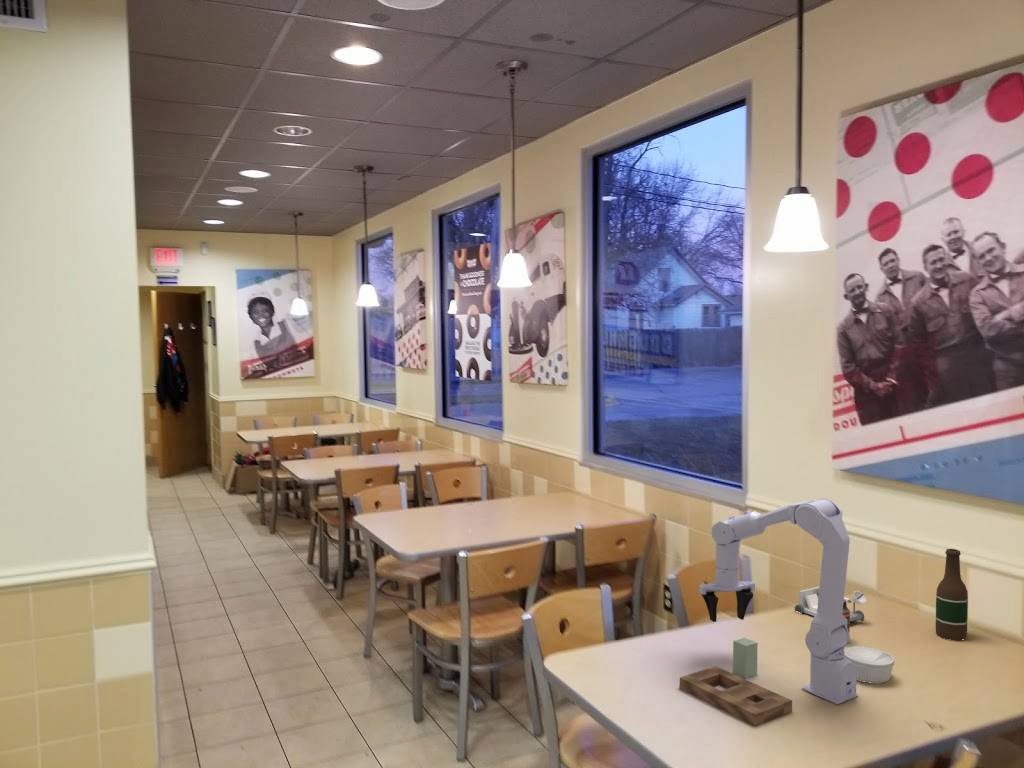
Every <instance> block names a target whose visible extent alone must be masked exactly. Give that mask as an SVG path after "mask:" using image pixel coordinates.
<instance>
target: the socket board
mask: <svg viewBox="0 0 1024 768" xmlns="http://www.w3.org/2000/svg"><path fill="white" fill-rule="evenodd" d="M718 685H719V686H722V687H724V688H725V689H723V690H720V689H719V688H717V687H716V686H718ZM726 687H727V688H726ZM679 689H681V690H683V691H685V692H686V693H688V694H691V695H692V696H695V697H697V698H698V699H701V700H703V701H704V702H707V703H708V704H710V705H712V706H715V707H716V708H719V709H720V710H722V711H725V712H726V713H728V714H730V715H732V716H734V717H736V718H738V719H740V720H741V721H744V722H746V723H748V724H750V725H752V726H754V727H757V726H759V725H763V724H764V723H767V722H769V721H772V720H774V719H776V718H780V717H782V716H785V715H788V714H789V713H792V712H793V699H790V698H787V697H786V696H783V695H782V694H779V693H776V692H774V691H772V690H770V689H767V688H765V687H763V686H761V685H758V684H756V683H754V682H752V681H750V680H747V679H745V678H743V677H741V676H738V675H736V674H734V673H733V672H729V671H728V670H725V669H723V668H722V667H719V666H717V665H715V666H712V667H709V668H705V669H702V670H698V671H696V672H693V673H689V674H686V675H683V676H681V677H679Z"/></svg>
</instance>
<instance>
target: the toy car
mask: <svg viewBox="0 0 1024 768" xmlns="http://www.w3.org/2000/svg"><path fill="white" fill-rule="evenodd" d="M819 587H820V585H819V586H815V587H810V588H806V589H802V590H799V592H798V604H796V605H795V606H794V612H795V611H798V612H800V613H804V614H807V615H811V616H812V617H814V616H815V615H816V613H817V607H818V597H819ZM844 599H845V600H846V607H847V604H849V603H850V604H851V603H852V602H853V603H852V604H853V606H852V607H853V608H852V609H853V611H852V610H850V622H853V621H857V620H858V619H860V620H859V621H861V620H862V621H864V620H865V614H864V612H863V611H862V610H860V609H858V610H856V604H858V605H859V604H866V602H867V598H866V596H865V595H864V593H863V592H861V591H859V590H854V591H853V594H852V600H851V599H850V598H848V597H845V596H844ZM847 608H848V607H847Z"/></svg>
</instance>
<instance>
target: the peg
mask: <svg viewBox="0 0 1024 768" xmlns="http://www.w3.org/2000/svg"><path fill="white" fill-rule="evenodd" d="M758 644H759V643H758V642H756V641H754V640H751V639H749V638H747V637H741V638H739V639H735V640H733V642H732V645H733V646H732V649H733V650H732V674H734V675H737V676H739V677H741V678H743V679H746V680H747V679H750V678H753V677H755V676H758Z"/></svg>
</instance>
